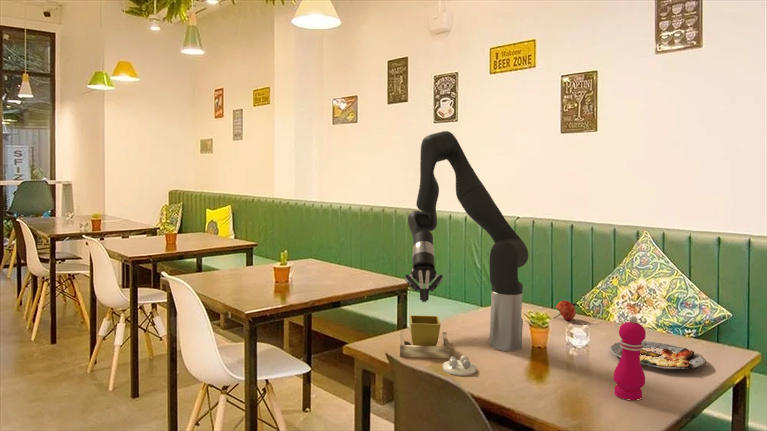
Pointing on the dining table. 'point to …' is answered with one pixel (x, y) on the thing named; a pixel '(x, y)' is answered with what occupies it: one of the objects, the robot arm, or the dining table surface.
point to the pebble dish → (459, 366)
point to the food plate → (665, 356)
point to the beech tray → (425, 349)
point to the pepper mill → (630, 361)
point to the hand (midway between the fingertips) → (424, 300)
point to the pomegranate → (566, 309)
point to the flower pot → (424, 330)
